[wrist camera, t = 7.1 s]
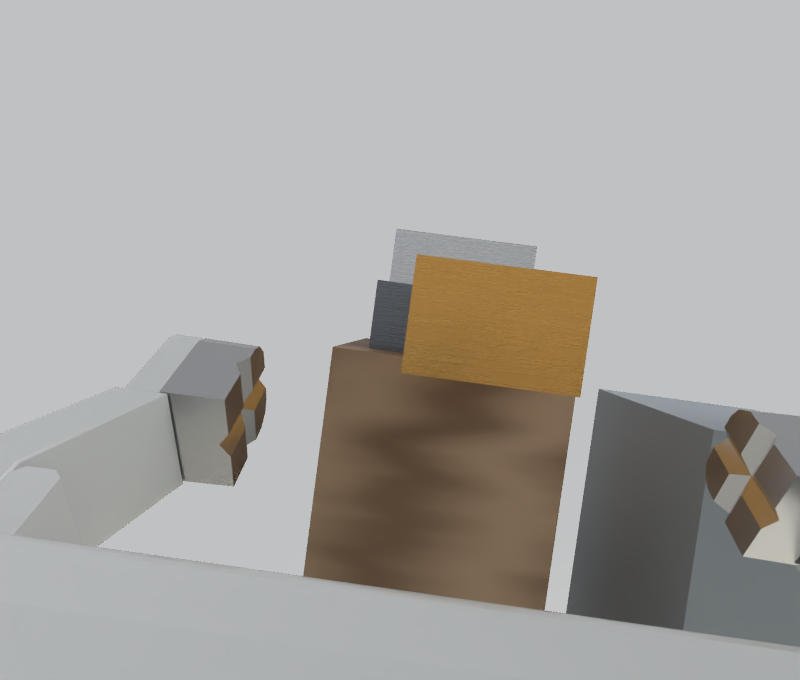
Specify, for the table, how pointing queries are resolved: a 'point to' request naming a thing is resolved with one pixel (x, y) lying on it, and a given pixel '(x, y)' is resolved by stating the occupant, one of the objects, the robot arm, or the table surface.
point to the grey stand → (670, 530)
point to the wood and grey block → (483, 314)
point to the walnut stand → (436, 482)
